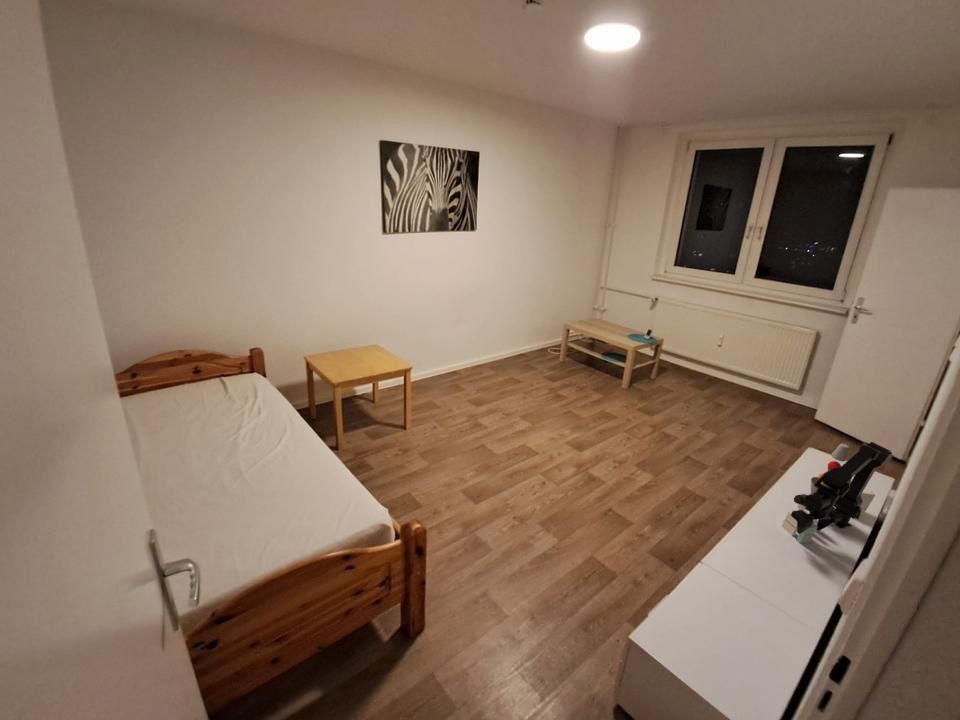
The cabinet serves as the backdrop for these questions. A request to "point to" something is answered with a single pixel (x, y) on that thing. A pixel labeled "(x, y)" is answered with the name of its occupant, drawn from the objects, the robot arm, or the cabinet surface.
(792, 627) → the cabinet surface
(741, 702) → the cabinet surface
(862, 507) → the supplement box
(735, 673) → the cabinet surface
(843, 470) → the robot arm
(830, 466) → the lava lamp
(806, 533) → the domino
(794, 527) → the domino
